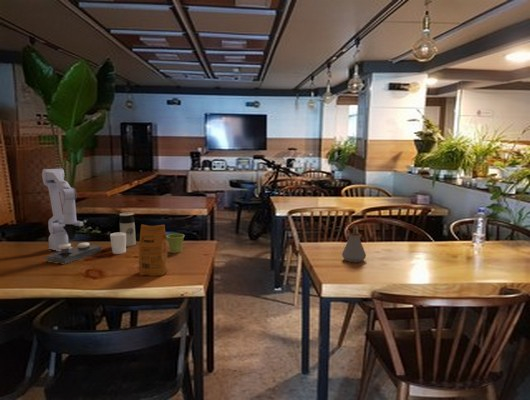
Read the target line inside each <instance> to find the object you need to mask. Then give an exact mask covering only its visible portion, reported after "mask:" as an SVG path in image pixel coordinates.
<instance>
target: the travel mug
mask: <svg viewBox="0 0 530 400" xmlns="http://www.w3.org/2000/svg"><path fill="white" fill-rule="evenodd" d="M134 215H135V214H134V212H122V213H119V216H120V218H119V232H124V233H126V248H127V247H134V246H135V245H136V244H137V240H136V225H135V218H134Z"/></svg>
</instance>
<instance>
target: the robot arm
mask: <svg viewBox="0 0 530 400" xmlns="http://www.w3.org/2000/svg"><path fill="white" fill-rule="evenodd" d="M65 176H66V175H65V171H64V169H63V168H61V167H60V168H43V169H42V171H41V178H42V183H43V185H44V186H45V187H47V189H48V192H49V199H50V205H51V206H50V207H51V212H52V217H51V218H49V219H48V222H47V223H48V227H47V228H48V232H49V233H50V234H49V236H48V247H49V248H48V249H53V250H56V251H55V252H60V251H61V249H59V248H58V245H59V244H63V243H69V240H74V239H76V238H75V237H76V232H77V230H78V229H79V227H83V226H84V221H81V220H77V208H76V199H77V191H76V189H75V188H74V187H71V186H70V184H69V182H68V181H66V180H65ZM73 247H74V246H73ZM73 247H72V246H71V247H70V248H73ZM70 248H69V249H70Z"/></svg>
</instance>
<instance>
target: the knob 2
mask: <svg viewBox="0 0 530 400" xmlns="http://www.w3.org/2000/svg"><path fill="white" fill-rule="evenodd" d="M90 245H91V244H90V242H85V241H84V242H79V243H77V246H78V248H80V249H83V250H84V249H87V248H88V247H89V246H90Z"/></svg>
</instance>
